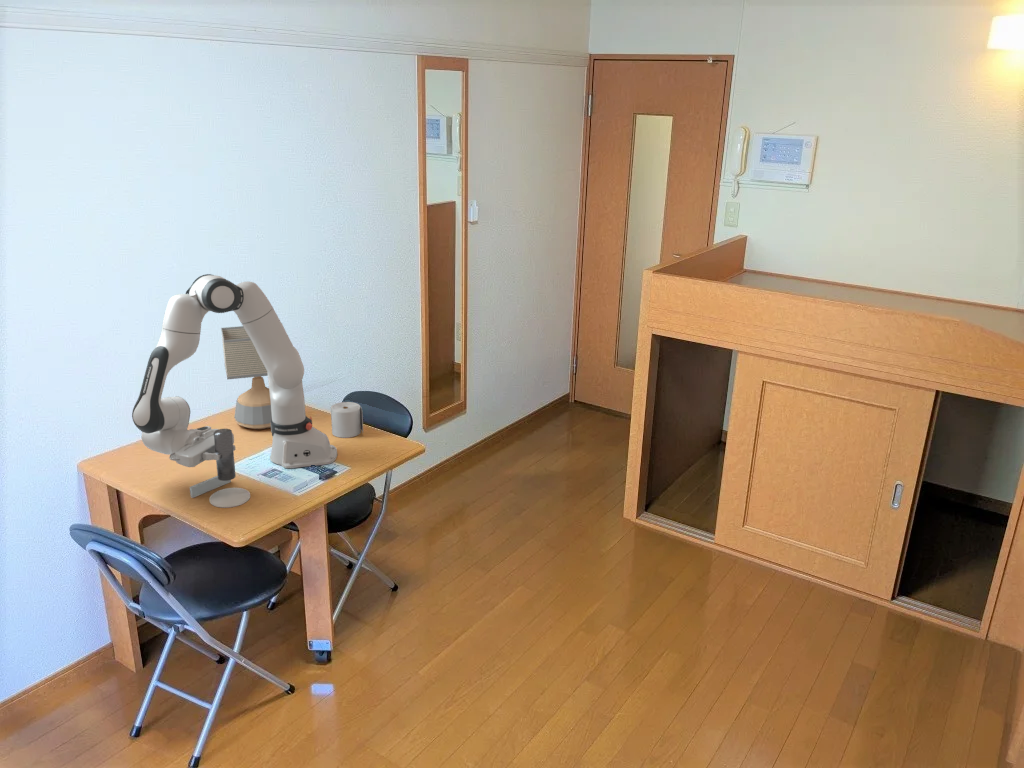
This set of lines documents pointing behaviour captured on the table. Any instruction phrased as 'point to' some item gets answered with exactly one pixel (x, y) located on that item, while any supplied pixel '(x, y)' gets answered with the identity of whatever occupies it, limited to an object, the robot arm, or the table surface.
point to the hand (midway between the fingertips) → (227, 452)
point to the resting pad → (229, 497)
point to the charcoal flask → (224, 454)
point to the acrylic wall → (206, 486)
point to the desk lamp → (244, 364)
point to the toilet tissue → (346, 419)
